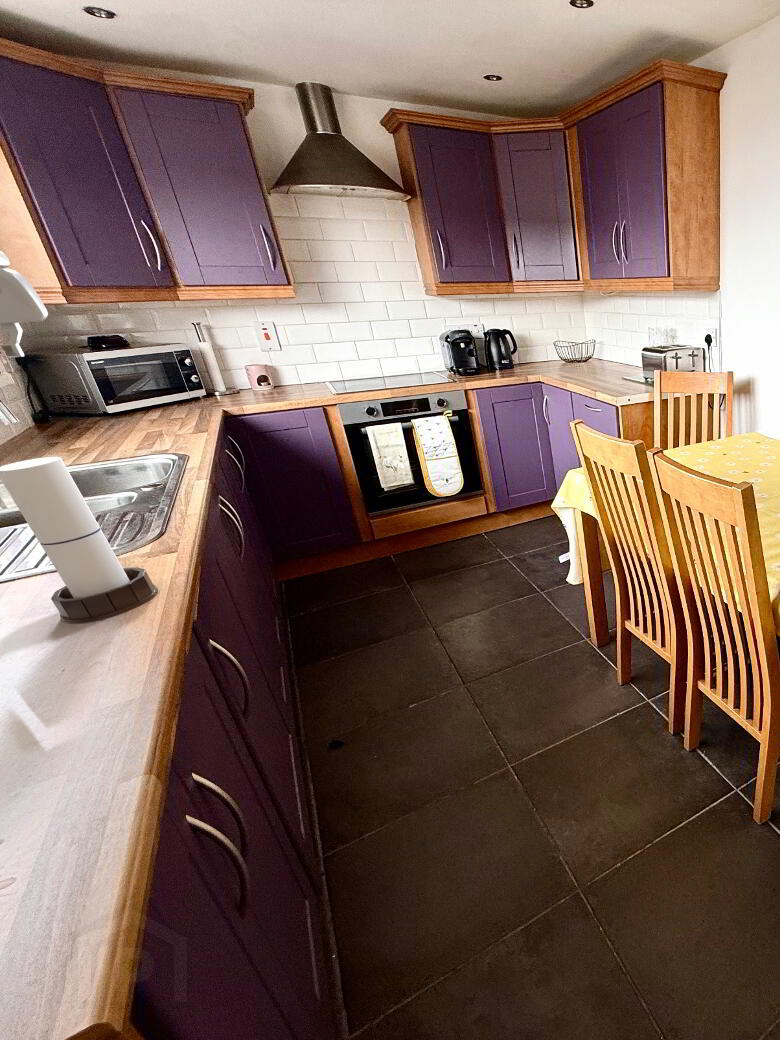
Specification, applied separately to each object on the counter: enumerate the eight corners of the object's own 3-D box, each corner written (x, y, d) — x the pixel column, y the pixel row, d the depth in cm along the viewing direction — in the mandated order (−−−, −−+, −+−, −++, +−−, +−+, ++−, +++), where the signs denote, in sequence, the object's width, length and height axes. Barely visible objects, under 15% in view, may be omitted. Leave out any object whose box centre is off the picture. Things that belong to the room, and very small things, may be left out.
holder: (53, 632, 94) (39, 610, 92) (70, 602, 103) (58, 582, 101) (154, 605, 100) (142, 584, 99) (161, 579, 110) (151, 559, 108)
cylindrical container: (88, 615, 97) (0, 473, 86) (74, 605, 101) (-11, 467, 90) (142, 595, 102) (66, 459, 92) (128, 586, 106) (54, 454, 95)
